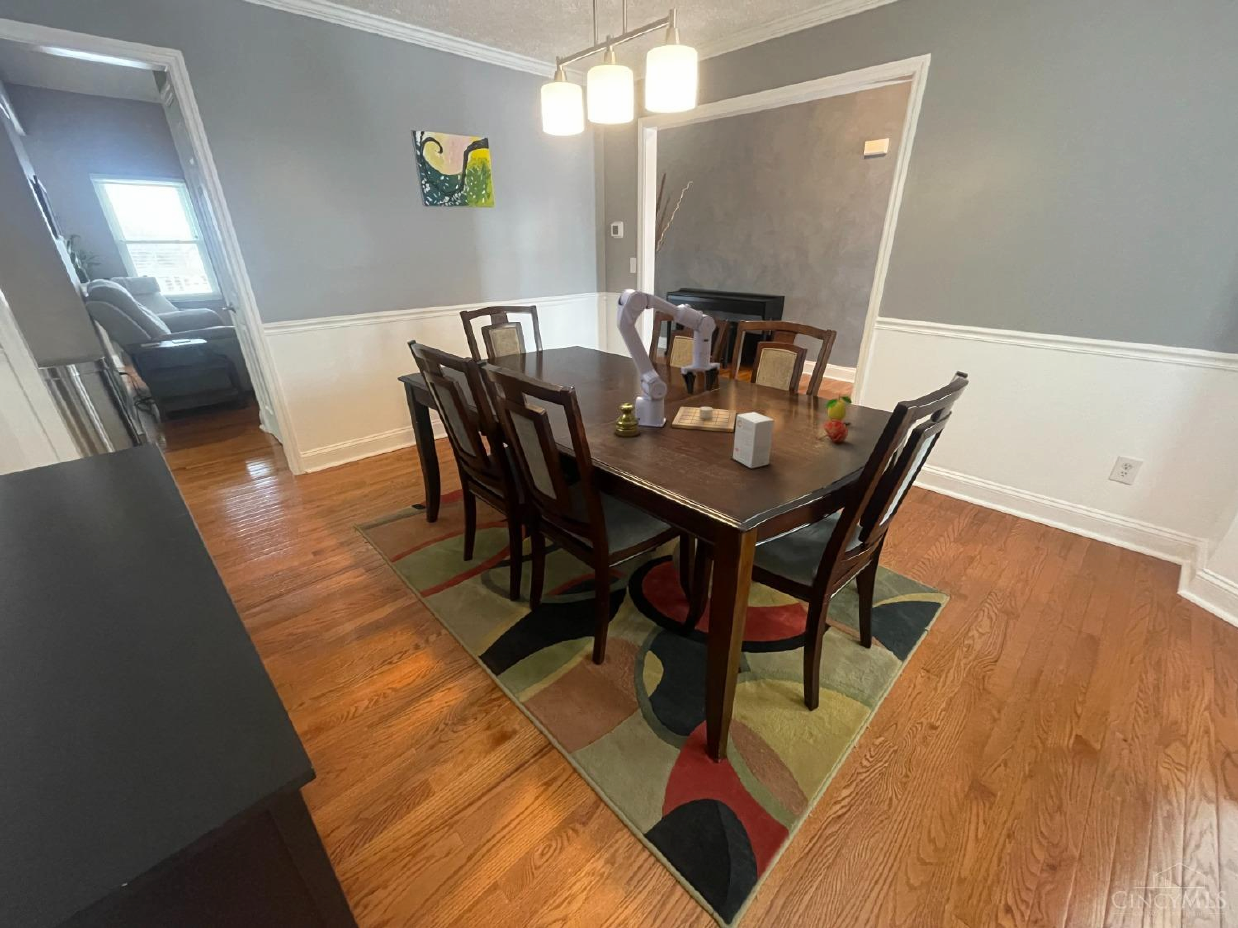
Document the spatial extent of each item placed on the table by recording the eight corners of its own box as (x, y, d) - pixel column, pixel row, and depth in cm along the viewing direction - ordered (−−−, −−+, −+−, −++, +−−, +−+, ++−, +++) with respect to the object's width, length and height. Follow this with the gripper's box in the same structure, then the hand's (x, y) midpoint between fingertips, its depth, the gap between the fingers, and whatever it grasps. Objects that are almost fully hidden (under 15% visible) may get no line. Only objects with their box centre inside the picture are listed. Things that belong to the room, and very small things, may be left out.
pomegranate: (822, 451, 149) (854, 437, 143) (810, 430, 149) (841, 415, 143) (827, 446, 155) (858, 432, 148) (816, 426, 155) (846, 411, 149)
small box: (769, 464, 134) (774, 419, 129) (750, 469, 132) (755, 423, 127) (749, 454, 141) (754, 411, 136) (732, 458, 139) (736, 414, 133)
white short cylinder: (698, 418, 168) (698, 409, 166) (699, 414, 171) (700, 406, 170) (711, 419, 167) (712, 410, 165) (712, 415, 170) (713, 407, 169)
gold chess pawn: (612, 431, 160) (611, 401, 156) (632, 428, 163) (632, 398, 159) (621, 438, 154) (621, 408, 150) (642, 435, 157) (643, 404, 153)
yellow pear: (848, 422, 166) (853, 393, 162) (842, 426, 162) (848, 397, 158) (828, 418, 170) (833, 390, 166) (822, 422, 166) (827, 394, 162)
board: (671, 427, 163) (671, 423, 163) (680, 409, 181) (680, 406, 180) (733, 432, 158) (733, 428, 158) (736, 413, 176) (736, 410, 175)
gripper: (690, 356, 156) (688, 397, 161) (726, 352, 162) (723, 392, 168) (678, 352, 162) (676, 392, 167) (713, 348, 168) (710, 387, 173)
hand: (699, 392), depth 168 cm, fingers open, 7 cm apart
